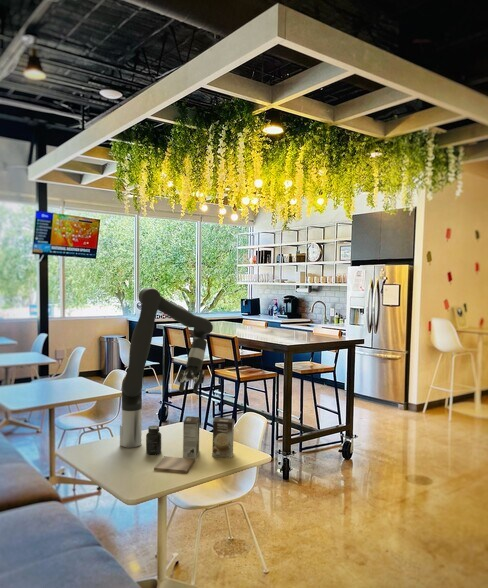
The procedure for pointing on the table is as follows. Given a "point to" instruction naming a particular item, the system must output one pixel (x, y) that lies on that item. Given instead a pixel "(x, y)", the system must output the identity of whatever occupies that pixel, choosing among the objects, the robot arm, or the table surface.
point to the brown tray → (174, 464)
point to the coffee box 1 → (191, 437)
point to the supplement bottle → (153, 441)
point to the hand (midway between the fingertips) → (187, 391)
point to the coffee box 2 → (223, 437)
